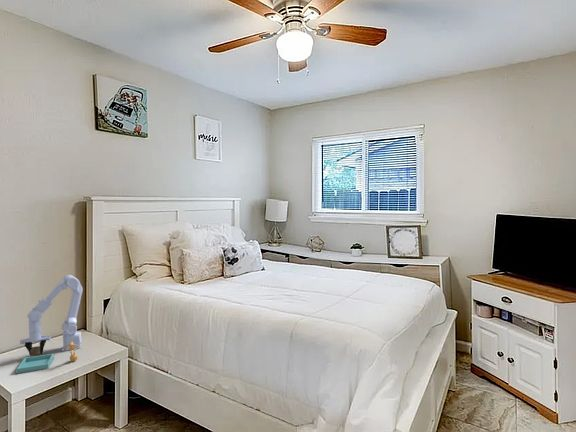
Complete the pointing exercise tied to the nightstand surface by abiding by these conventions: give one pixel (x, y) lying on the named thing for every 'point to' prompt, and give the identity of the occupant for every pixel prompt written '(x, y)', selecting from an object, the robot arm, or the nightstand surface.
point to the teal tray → (35, 363)
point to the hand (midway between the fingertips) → (36, 354)
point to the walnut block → (35, 351)
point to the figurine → (73, 356)
